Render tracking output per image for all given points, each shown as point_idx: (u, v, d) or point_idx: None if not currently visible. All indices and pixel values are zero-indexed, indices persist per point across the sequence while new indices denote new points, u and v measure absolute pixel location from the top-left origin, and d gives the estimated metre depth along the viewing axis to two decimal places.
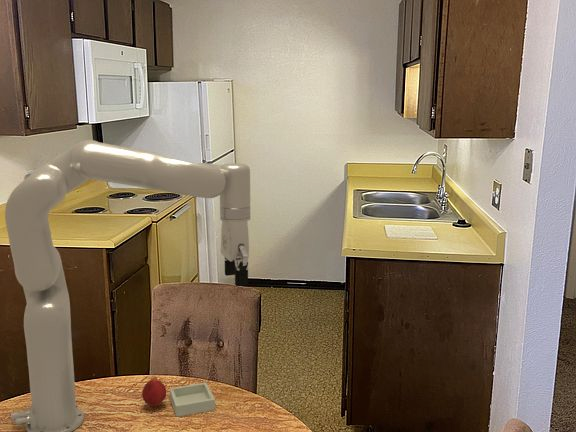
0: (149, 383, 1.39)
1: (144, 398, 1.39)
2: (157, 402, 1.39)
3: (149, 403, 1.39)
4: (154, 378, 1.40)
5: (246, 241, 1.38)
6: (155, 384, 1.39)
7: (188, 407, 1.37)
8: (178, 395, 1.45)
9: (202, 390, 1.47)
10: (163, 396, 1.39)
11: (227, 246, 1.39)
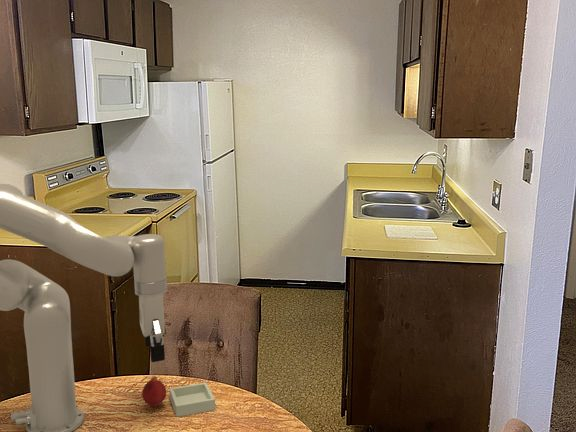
0: (149, 383, 1.39)
1: (144, 398, 1.39)
2: (157, 402, 1.39)
3: (149, 403, 1.39)
4: (154, 378, 1.40)
5: (161, 315, 1.33)
6: (155, 384, 1.39)
7: (188, 407, 1.37)
8: (178, 395, 1.45)
9: (202, 390, 1.47)
10: (163, 396, 1.39)
11: (142, 321, 1.34)
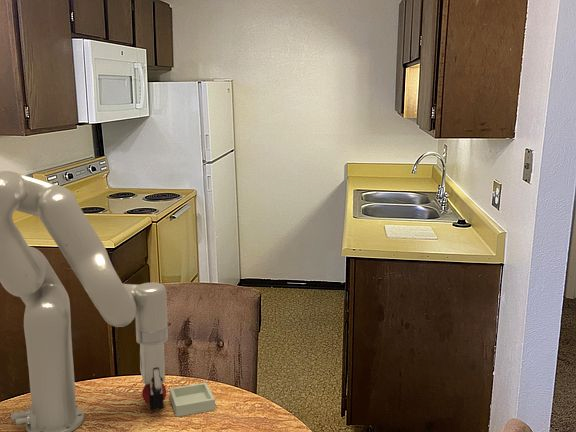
0: None
1: (144, 398, 1.39)
2: None
3: (149, 403, 1.39)
4: None
5: (162, 364, 1.35)
6: None
7: (188, 407, 1.37)
8: (178, 395, 1.45)
9: (202, 390, 1.47)
10: (163, 396, 1.39)
11: (142, 368, 1.36)
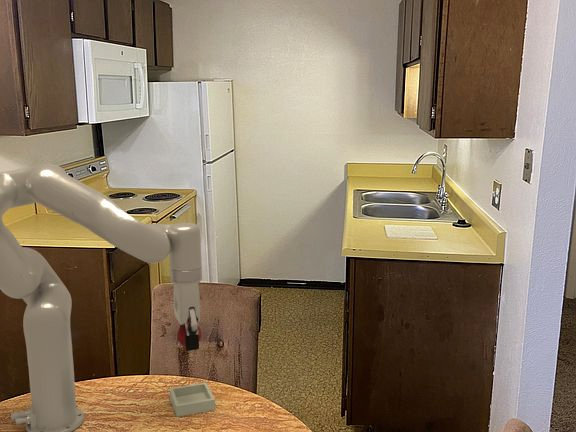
0: (184, 324, 1.38)
1: (180, 339, 1.37)
2: None
3: None
4: (189, 320, 1.38)
5: (197, 303, 1.34)
6: None
7: (188, 407, 1.37)
8: (178, 395, 1.45)
9: (202, 390, 1.47)
10: None
11: (178, 309, 1.35)
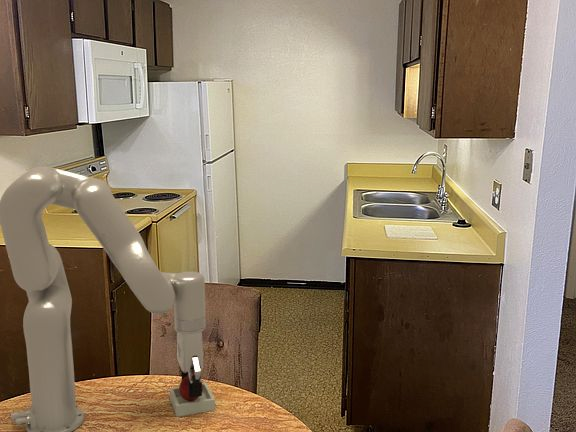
0: (186, 378, 1.40)
1: (181, 393, 1.40)
2: (194, 397, 1.40)
3: (186, 398, 1.40)
4: None
5: (200, 352, 1.36)
6: None
7: (188, 407, 1.37)
8: (178, 395, 1.45)
9: None
10: None
11: (181, 357, 1.37)
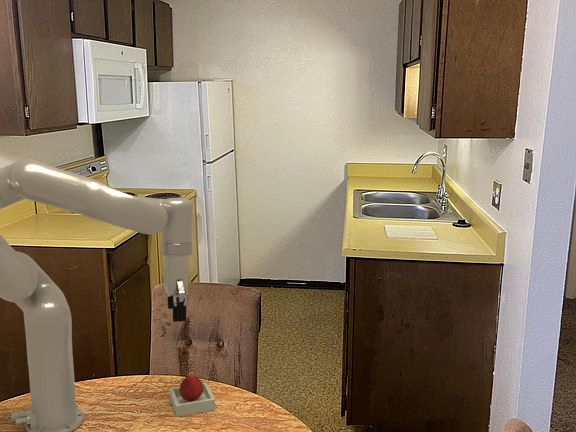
0: (186, 378, 1.40)
1: (182, 394, 1.40)
2: (195, 398, 1.40)
3: (187, 399, 1.40)
4: (191, 374, 1.41)
5: (185, 276, 1.37)
6: (193, 379, 1.40)
7: (188, 407, 1.37)
8: (178, 395, 1.45)
9: None
10: (200, 392, 1.40)
11: (166, 281, 1.38)
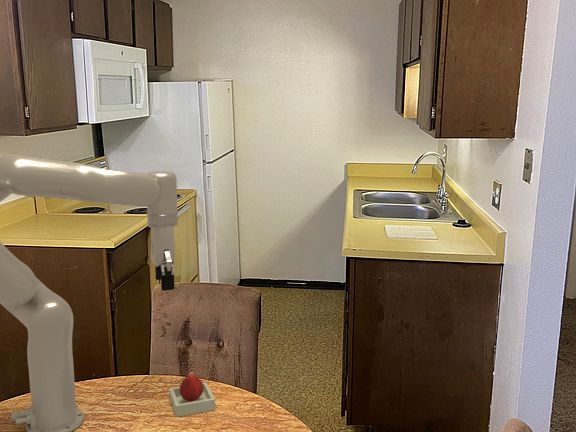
0: (187, 378, 1.40)
1: (182, 394, 1.40)
2: (195, 398, 1.40)
3: (187, 399, 1.40)
4: (191, 374, 1.41)
5: (172, 246, 1.41)
6: (193, 379, 1.40)
7: (188, 407, 1.37)
8: (178, 395, 1.45)
9: None
10: (200, 392, 1.40)
11: (154, 251, 1.42)
